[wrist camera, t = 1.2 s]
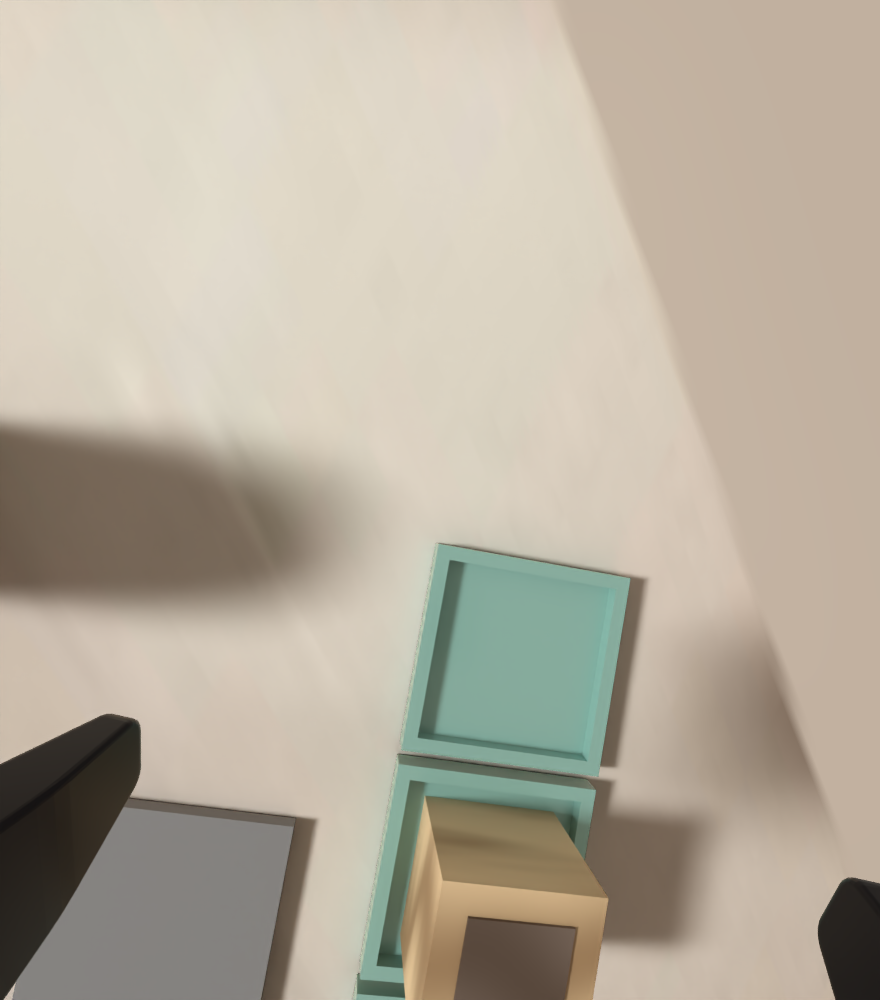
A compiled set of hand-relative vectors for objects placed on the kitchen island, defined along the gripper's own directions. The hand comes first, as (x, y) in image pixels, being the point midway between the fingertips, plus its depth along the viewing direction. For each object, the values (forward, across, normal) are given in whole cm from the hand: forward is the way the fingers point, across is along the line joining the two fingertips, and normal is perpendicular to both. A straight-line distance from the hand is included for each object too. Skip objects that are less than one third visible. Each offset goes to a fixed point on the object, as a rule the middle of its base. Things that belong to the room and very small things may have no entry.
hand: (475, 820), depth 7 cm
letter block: (+10, -2, +14) cm, 17 cm away
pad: (+8, +9, +16) cm, 20 cm away
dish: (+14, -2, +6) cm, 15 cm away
